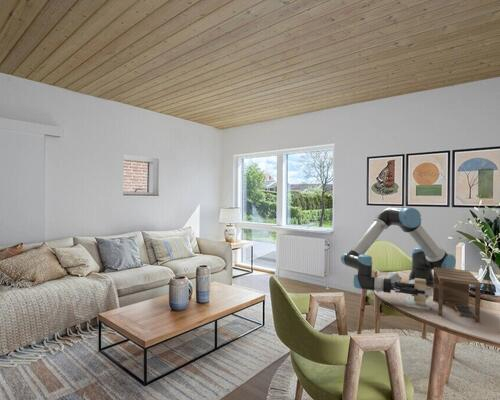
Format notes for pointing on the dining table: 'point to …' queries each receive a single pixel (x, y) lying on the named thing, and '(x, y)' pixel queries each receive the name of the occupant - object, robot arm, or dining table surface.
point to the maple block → (420, 285)
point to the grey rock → (394, 277)
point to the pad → (416, 304)
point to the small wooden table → (456, 290)
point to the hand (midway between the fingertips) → (431, 291)
